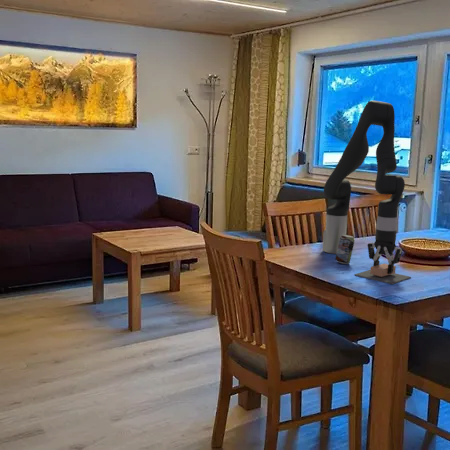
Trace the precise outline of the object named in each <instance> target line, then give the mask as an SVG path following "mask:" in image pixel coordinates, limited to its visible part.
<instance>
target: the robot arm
mask: <svg viewBox="0 0 450 450" xmlns="http://www.w3.org/2000/svg"><path fill="white" fill-rule="evenodd" d="M395 115H396V113H395V108H394V106H393V104H392V103H389V102H385V101H379V100H369V101H368V102H367V103H366V104H365V106H364V108H363V110H362V112H361V114H360V117H359V119H358V122H357V124H356V127H355V129H354V132H353V133H352V135H351V138H350V140H349V141H348V142H347V145H346V147H345V149H344V151H343V152H342V155H341V156H340V158H339V160H338V163H336V166H335V168H334V169H333V171H332V172H331V173H330V175H329V177H328V178H327V180H326V182H325V183H324V186H323V195H324V197H325V198H326V199H327V200H332V201H335V200H336V202H335V203H334V204H332V205H330V206H328V207H327V208H326V216H325V220H326V221H325V229H324V230H323V234H322V235H323V236H322V252H325V253H328V254H333V255H336V254H337V249H338V245H339V240H340V237H341V236H342V235H347V226H348V212H349V210H350V203H351V196H352V195H351V194H352V185H351V182H350V180H349V179H346V178H347V177H348V176H349V175H351V174H352V173H353V172H355V171H357V170H358V169H359V168H360V167H361V166H362V165H363V163H364V161H365V160H366V158H367V156H368V155H369V152H370V147H369V146H370V145H369V141H368V136H367V135H368V130H369V129H370V126H372V125H373V126H378V127H379V126H380V127H382V130H383V135H382V137H381V139H380V141H379V143H378V144H377V146H376V150H375V158H376V160H375V161H376V164H377V165H376V166H377V169H376V170H377V171H376V172H377V173H376V178H375V182H374V188H375V191H376V192H377V193H378V194H379V195H390V197H389V198H387V199H384V200H380V201H379V202H378V207H377V218H376V222H375V224H376V225H375V237H374V238H375V241H374V242H369V243H367V252H368V258H369V259H370V260H372V261H373V264H372V265H373V266H376V265H380V259H381V256H382V255H384V256H385V257H386V259H387V262H388V263H387V264H388V272H387V273H388V274H391V273H392V272H393V268H394V266H395V264H398V263H400V260H401V257H402V253H403V250H404V249H403V248H402V247H398V246H397V245H396V240H397V229H398V228H397V227H398V208H399V204H400V201H401V198H402V196H403V193H404V191H405V186H406V185H405V184H406V182H405V180H404V178H403V177H402V176H401V175H386V174H390V173H391V174H392V173H393V172H395V171H396V170H397V164H398V163H397V159H396V152H395V151H396V150H395ZM394 254H395V255H394Z"/></svg>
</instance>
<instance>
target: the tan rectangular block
mask: <svg viewBox="0 0 450 450" xmlns="http://www.w3.org/2000/svg"><path fill="white" fill-rule="evenodd" d="M388 264H389V263H381V264H380V263H379V265H376V266H370V270H371V271H370V274H373V275H377V276H381V277H382V276H386V275H390V274H388V273H387V272H388ZM396 266H397V265H394V268H393V272H392V273H391V274H394V273H396V269H397V267H396Z"/></svg>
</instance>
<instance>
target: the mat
mask: <svg viewBox="0 0 450 450" xmlns="http://www.w3.org/2000/svg"><path fill="white" fill-rule="evenodd" d="M370 271H371V269H368V270H365V271H361V272H358V273H355V274H354V276H355V277H359V278H363V279H368V280H371V281H377V282H380V283H385V284H388V285H395V284H399V283H402V282H404V281H407V280H409V279H412V277H411V276H408V275H404V274H399V273H396V272H395V273H394V274H390V275H386V276H382V277H381V276H377V275H373V274H370Z"/></svg>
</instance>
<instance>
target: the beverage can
mask: <svg viewBox="0 0 450 450" xmlns="http://www.w3.org/2000/svg"><path fill="white" fill-rule="evenodd" d="M354 244H355V238H354V236H353V235H348V234H346V235H342V236H341V237H340V240H339V245H338V249H337V254H335V260H336V262H337V263H340V264H342V265H347V264H349V263H351V260H352V259H351V258H352V254H353V249H354Z"/></svg>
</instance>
